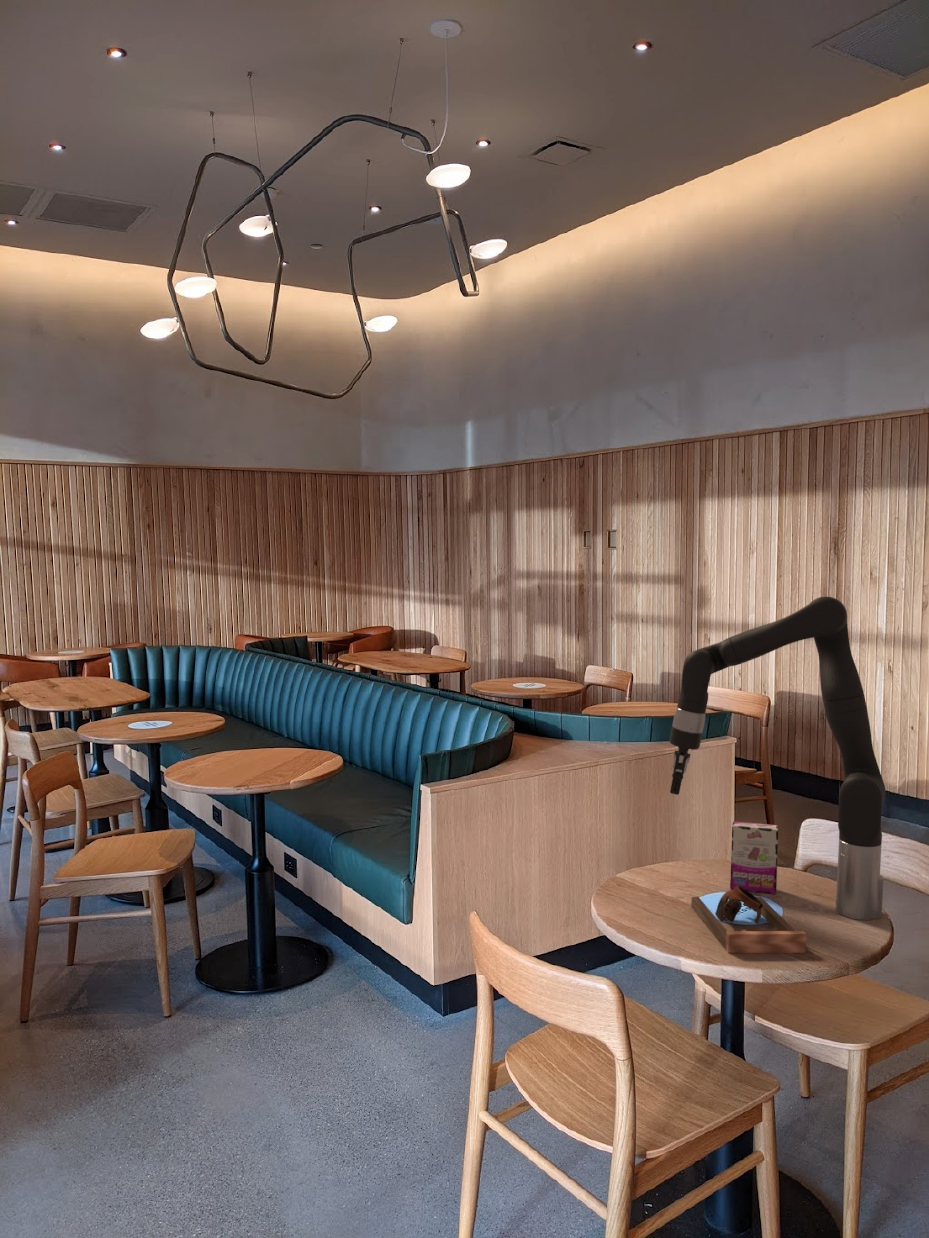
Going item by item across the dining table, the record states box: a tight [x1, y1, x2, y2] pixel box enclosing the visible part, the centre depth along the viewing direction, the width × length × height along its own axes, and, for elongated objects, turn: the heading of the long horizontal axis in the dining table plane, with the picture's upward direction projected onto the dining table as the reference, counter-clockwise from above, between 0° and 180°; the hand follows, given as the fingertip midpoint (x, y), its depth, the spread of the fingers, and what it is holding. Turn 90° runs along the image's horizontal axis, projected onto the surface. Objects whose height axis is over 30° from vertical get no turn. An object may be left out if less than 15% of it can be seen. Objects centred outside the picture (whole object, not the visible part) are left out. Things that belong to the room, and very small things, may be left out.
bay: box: [690, 896, 807, 954], centre depth 211 cm, size 17×26×4 cm, turn 3°
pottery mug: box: [715, 886, 763, 924], centre depth 216 cm, size 12×10×8 cm
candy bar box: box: [729, 820, 779, 895], centre depth 236 cm, size 11×5×16 cm, turn 73°
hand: (675, 789), depth 238 cm, fingers open, 8 cm apart
